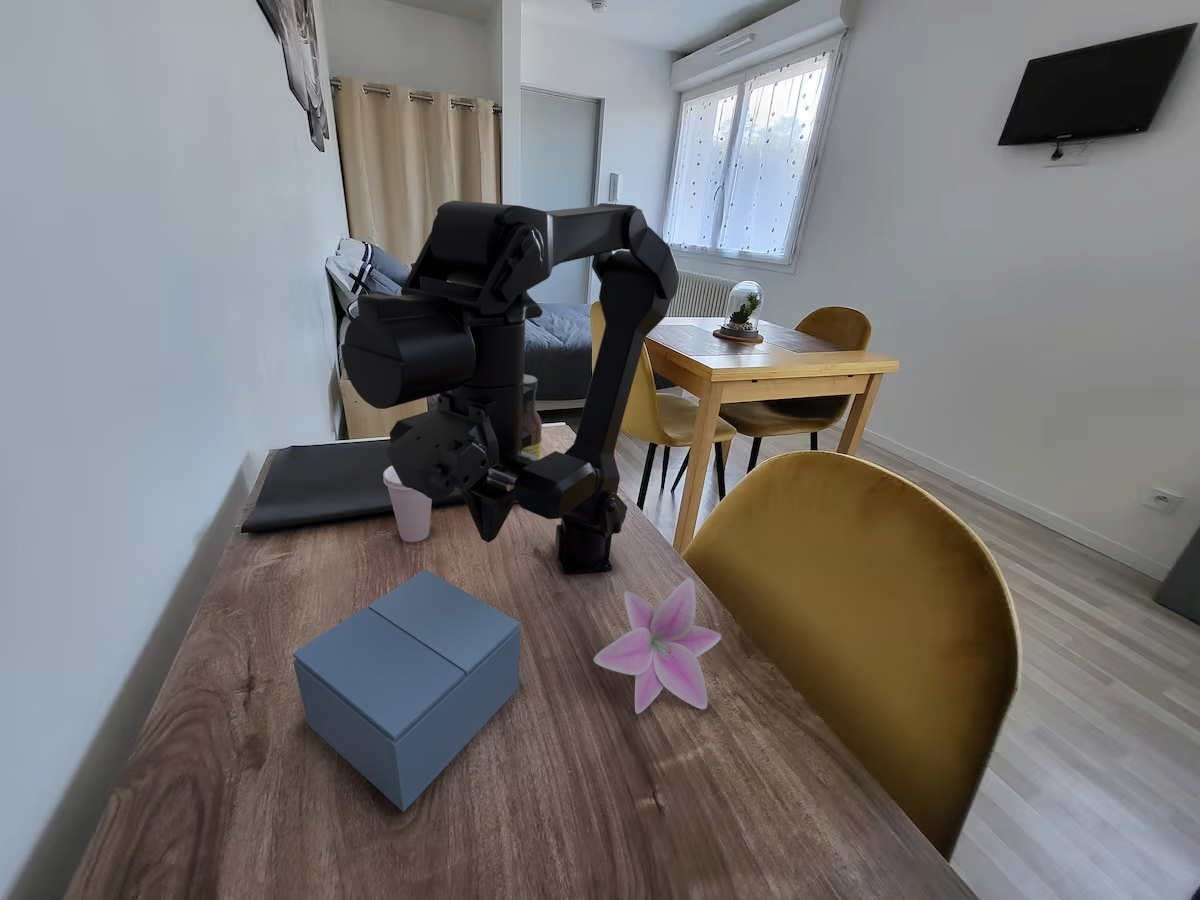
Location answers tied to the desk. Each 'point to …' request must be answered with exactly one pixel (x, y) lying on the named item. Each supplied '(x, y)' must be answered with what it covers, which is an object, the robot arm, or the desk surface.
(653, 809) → the desk surface
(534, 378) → the sauce bottle
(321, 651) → the carton
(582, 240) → the robot arm
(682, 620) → the lily
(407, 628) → the flap
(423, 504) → the smoothie
